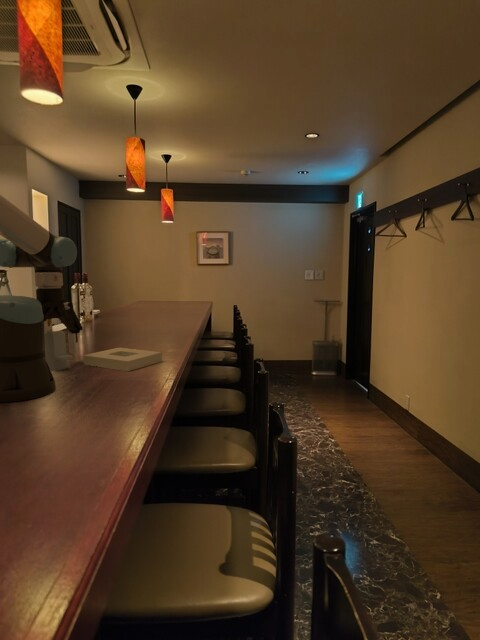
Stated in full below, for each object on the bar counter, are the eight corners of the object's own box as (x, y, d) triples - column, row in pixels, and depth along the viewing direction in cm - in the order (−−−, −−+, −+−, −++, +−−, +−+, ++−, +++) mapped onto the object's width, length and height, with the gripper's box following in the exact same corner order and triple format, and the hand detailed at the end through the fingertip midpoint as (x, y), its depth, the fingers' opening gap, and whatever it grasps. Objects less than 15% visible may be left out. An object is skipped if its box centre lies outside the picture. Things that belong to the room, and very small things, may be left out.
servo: (62, 371, 124) (59, 331, 122) (36, 367, 130) (33, 328, 128) (73, 369, 127) (71, 329, 126) (48, 364, 133) (45, 327, 132)
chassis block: (128, 371, 123) (127, 361, 123) (83, 364, 133) (83, 355, 132) (162, 361, 136) (161, 352, 136) (119, 356, 146) (119, 347, 145)
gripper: (17, 289, 113) (22, 367, 115) (92, 286, 134) (95, 351, 137) (0, 289, 117) (6, 364, 119) (76, 285, 138) (79, 349, 141)
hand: (54, 357), depth 128 cm, fingers open, 13 cm apart
